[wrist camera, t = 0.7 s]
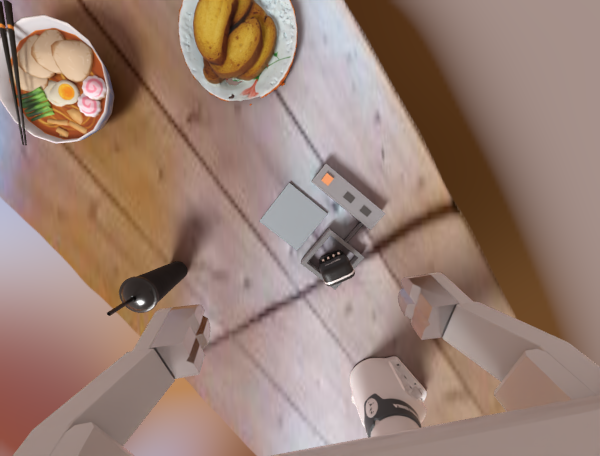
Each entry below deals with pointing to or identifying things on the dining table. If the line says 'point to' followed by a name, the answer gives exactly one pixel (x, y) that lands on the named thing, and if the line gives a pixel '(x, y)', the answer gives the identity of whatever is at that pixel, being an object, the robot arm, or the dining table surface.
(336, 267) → the battery charger
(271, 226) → the slate mat
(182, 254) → the dining table surface
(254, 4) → the food on plate
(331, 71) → the dining table surface
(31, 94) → the ramen bowl
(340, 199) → the charging station
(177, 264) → the drinking cup
